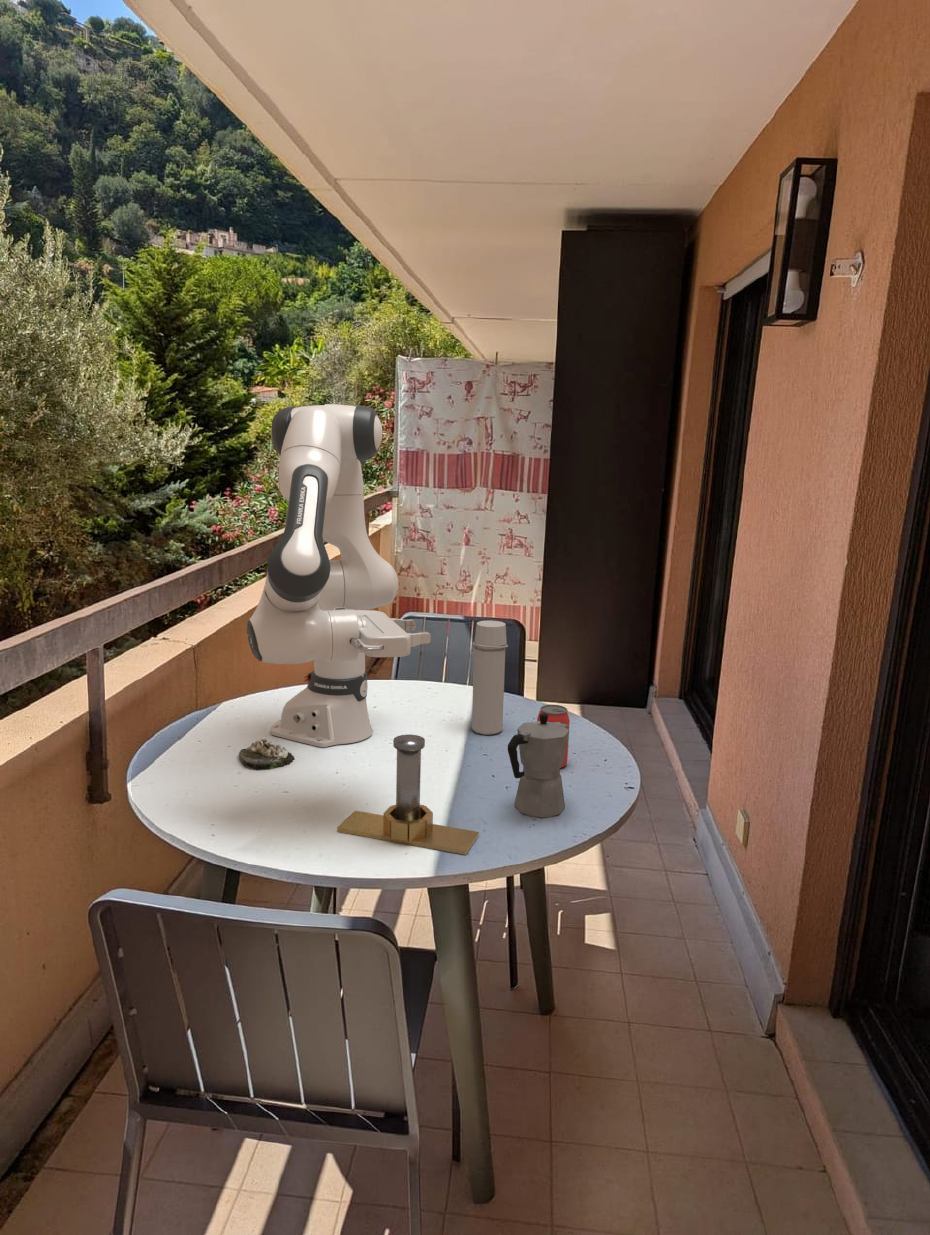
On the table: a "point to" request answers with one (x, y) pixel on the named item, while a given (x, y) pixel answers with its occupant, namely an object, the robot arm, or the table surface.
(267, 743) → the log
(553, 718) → the beer can
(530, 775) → the coffeepot
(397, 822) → the octagonal peg holder board
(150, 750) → the table surface
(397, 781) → the pin
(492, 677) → the water bottle
